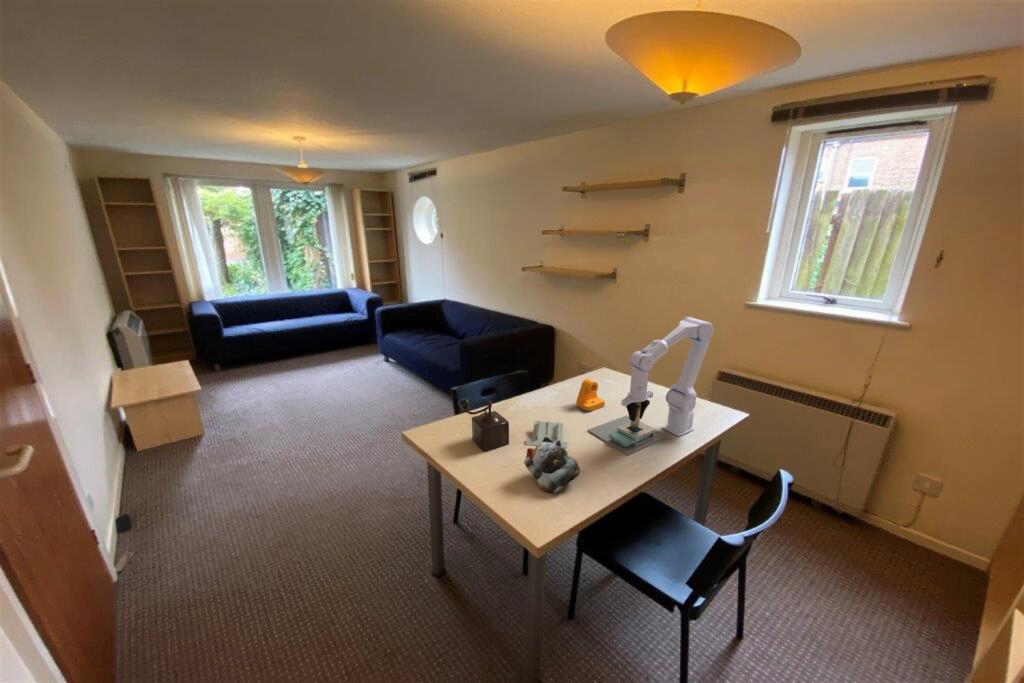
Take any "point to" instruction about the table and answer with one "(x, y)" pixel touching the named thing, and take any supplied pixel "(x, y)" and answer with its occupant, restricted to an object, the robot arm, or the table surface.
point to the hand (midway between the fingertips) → (635, 419)
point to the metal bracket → (546, 433)
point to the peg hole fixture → (633, 434)
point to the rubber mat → (611, 427)
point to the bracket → (589, 396)
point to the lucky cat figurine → (551, 465)
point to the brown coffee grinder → (487, 427)
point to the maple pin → (636, 422)
